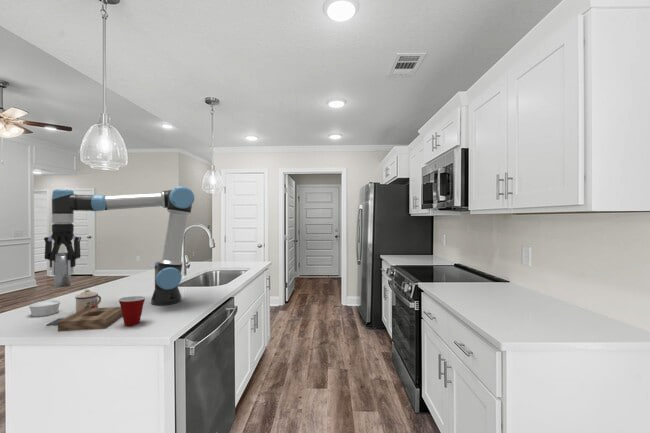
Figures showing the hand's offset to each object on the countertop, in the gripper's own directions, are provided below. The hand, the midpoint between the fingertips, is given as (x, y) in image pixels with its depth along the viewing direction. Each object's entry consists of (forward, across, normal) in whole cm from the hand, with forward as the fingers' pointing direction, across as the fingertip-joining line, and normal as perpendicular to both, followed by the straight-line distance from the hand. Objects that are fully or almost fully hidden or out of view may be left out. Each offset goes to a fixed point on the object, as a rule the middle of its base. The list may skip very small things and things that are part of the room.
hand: (62, 274), depth 140 cm
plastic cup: (+22, -32, +8) cm, 40 cm away
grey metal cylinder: (+5, 0, 0) cm, 5 cm away
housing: (+22, -14, +3) cm, 26 cm away
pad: (+22, 0, 0) cm, 22 cm away
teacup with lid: (+22, -4, -14) cm, 27 cm away
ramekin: (+22, +16, -15) cm, 31 cm away
